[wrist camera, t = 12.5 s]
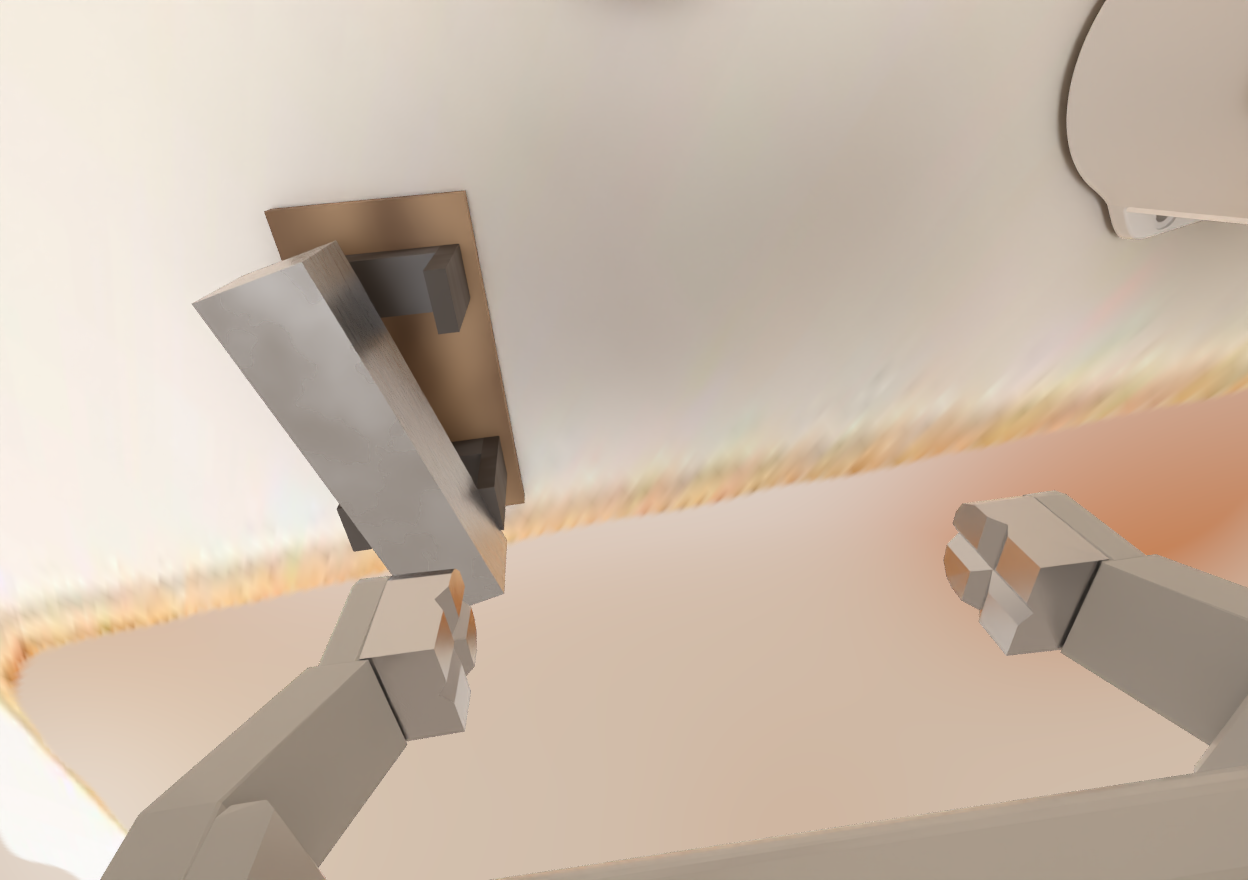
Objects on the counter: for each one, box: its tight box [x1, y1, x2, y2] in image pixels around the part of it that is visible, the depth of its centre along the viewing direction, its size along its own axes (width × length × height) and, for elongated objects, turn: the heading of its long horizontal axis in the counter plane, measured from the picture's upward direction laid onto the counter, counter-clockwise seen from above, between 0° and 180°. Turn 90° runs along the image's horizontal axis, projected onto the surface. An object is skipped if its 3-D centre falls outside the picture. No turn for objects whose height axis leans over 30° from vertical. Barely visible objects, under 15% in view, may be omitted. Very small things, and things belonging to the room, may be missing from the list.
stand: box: [264, 191, 524, 551], centre depth 32 cm, size 10×20×7 cm, turn 4°
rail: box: [192, 241, 507, 606], centre depth 28 cm, size 18×4×4 cm, turn 18°
